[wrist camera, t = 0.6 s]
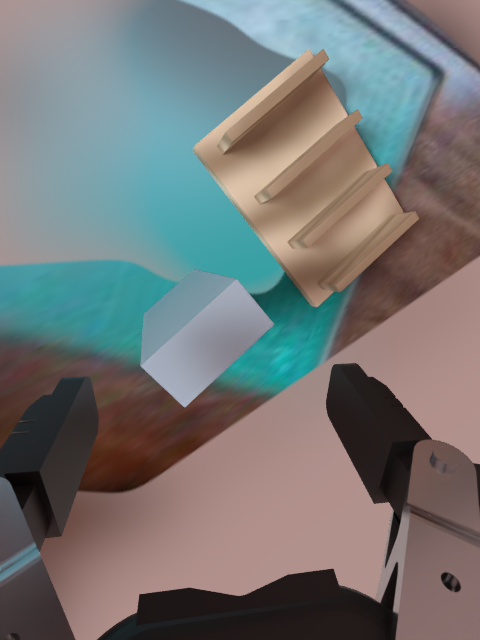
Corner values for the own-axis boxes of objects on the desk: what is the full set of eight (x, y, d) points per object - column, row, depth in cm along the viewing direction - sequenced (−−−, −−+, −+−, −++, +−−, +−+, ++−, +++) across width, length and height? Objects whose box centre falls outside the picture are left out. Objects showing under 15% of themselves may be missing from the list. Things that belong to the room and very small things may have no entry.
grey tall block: (143, 313, 29) (140, 366, 15) (194, 269, 30) (236, 279, 16) (167, 337, 30) (184, 407, 16) (215, 293, 31) (274, 324, 17)
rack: (192, 150, 28) (200, 131, 24) (303, 56, 29) (329, 22, 25) (311, 305, 34) (334, 312, 29) (400, 222, 35) (436, 217, 30)
